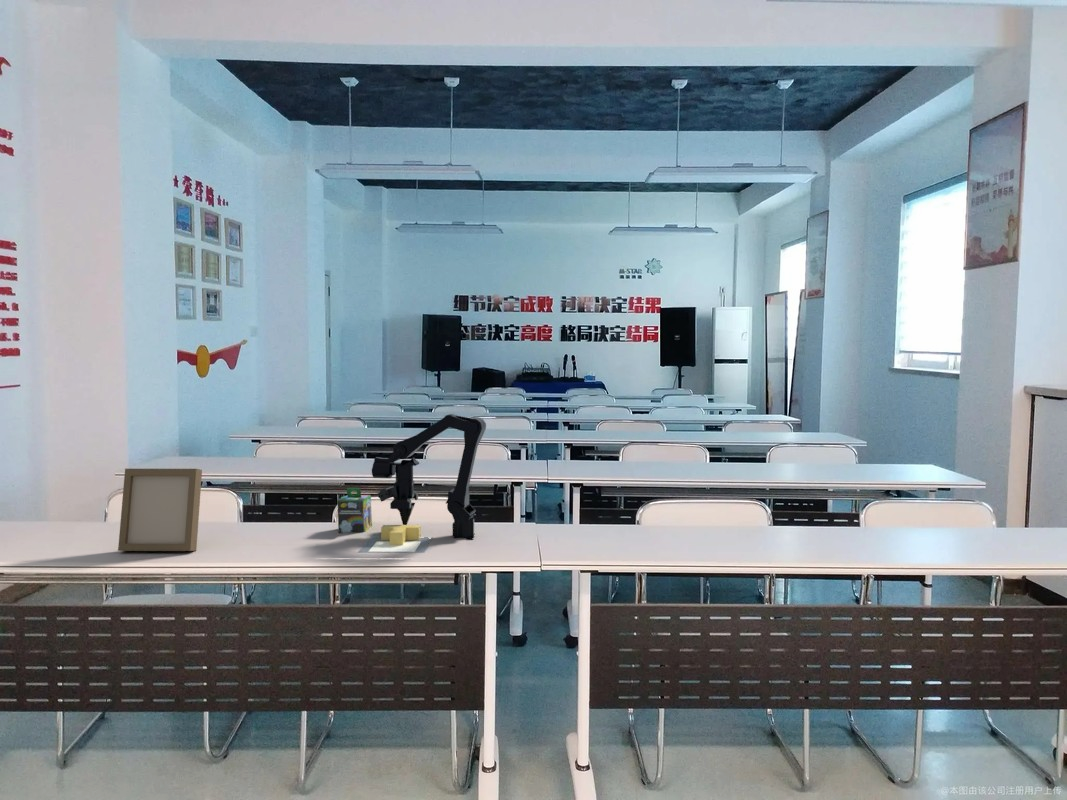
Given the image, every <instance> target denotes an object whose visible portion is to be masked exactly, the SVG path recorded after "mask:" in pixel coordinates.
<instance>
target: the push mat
mask: <svg viewBox="0 0 1067 800" xmlns="http://www.w3.org/2000/svg"><path fill="white" fill-rule="evenodd" d="M432 540H433V538H432V539H429V538H428V537H424V538H420V539H419V540H406V541H405V543H404V544H403V545H390V540H381V535H380V536H379V535H377V536H371V537H370V538H369V539H368V540H367V542H365V544H363V545H362V547H361V548H360V549H359V550H358V551H357V553H370V554H371V553H375V554H376V553H378V554H379V553H381V554H382V553H391V554H392V553H397V554H399V553H401V554H403V553H405V554H406V553H408V554H409V553H415V554H416V553H419V554H421V553H425V552H426V550H427V549H428V547H429V545H430V543H431V541H432Z"/></svg>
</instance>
